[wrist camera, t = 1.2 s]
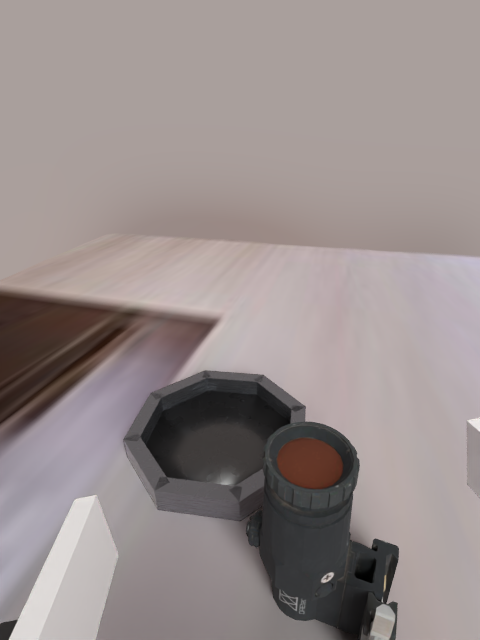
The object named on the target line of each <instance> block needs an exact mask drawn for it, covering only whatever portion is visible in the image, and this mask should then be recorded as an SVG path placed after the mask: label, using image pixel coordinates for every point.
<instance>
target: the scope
mask: <svg viewBox="0 0 480 640" xmlns="http://www.w3.org/2000/svg"><path fill="white" fill-rule="evenodd" d="M359 466H360V465H359V459H358V458H357V452H356V450H355V448H354V447H353V446H352V444H351V443H350V442H349V440H348V439H347V438H346V437H345V436H344V435H342V434H341V433H340V432H338V431H337V430H335V429H333V428H331V427H329V426H326V425H324V424H320V423H315V422H295V423H291V424H288V425H285V426H283V427H281V428H279V429H278V430H276V431H275V432H274V433H273V434H272V435H270V436H269V438H268V439H267V444H266V445H265V446H264V448H263V473H264V476H265V479H264V498H263V512H262V511H261V510H260V511H258V512H257V513H255V515H253V516H251V517H250V519H251V521H250V522H248V524H247V528H246V532H247V533H246V534H247V536H248V541H249V544H250V545H251V546H253V545H254V546H255V547H256V548H257V547H259V546H260V556H261V558H262V561H263V563H264V566H265V568H266V570H267V572H268V574H269V576H270V578H271V580H272V591H273V598H274V600H275V601H276V603H277V605H278V607H279V609H280V610H281V611H283V612H284V613H285V614H286V615H287V616H289V617H291V618H293V619H295V620H303V621H307V620H313V619H317V620H319V621H321V622H324V623H326V624H328V625H331V626H333V627H335V628H337V626H338V628H339V629H340V630H343V631H345V632H348V633H352V634H357V635H358V640H395V638H396V624H397V604H398V603H396V602H391V603H389V604H386V602H387V599H388V595H389V592H390V588H391V585H392V581H393V577H394V574H395V570H396V567H397V563H398V556H399V548H398V547H397V546H396V545H393V544H390V543H388V542H386V541H381V540H378V539H374V540H373V544H372V549H370V548H368V547H366V546H364V545H362V544H360V543H357V542H354V541H353V542H352V540H350V535H351V534H350V532H349V529H350V519H351V510H352V500H353V491H354V489H355V487H356V484H357V478H358V472H359ZM383 602H384V603H383Z"/></svg>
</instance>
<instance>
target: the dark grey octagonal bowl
mask: <svg viewBox="0 0 480 640" xmlns="http://www.w3.org/2000/svg"><path fill="white" fill-rule="evenodd" d="M305 409H306V407H305V406H304V405H303V404H301V403H300V402H299V401H297V400H296V399H295V398H293V397H292V396H291V395H289V394H288V393H287V392H285V391H284V390H283V389H281V388H280V387H279V386H277V385H276V384H275V383H273V382H272V381H271V380H269V379H268V378H267V377H265V376H264V375H258V374H245V373H232V372H218V371H203V372H200V373H198V374H196V375H193V376H191V377H188V378H186V379H184V380H181V381H179V382H176V383H174V384H172V385H169V386H167V387H164V388H162V389H160V390H157V391H155V392H152V393H151V394H150V395H149V397H148V399H147V400H146V402H145V404H144V406H143V407H142V409H141V411H140V412H139V414H138V416H137V418H136V419H135V421H134V423H133V424H132V426H131V428H130V430H129V431H128V433H127V435H126V436H125V438H124V445H125V449H126V453H127V457H128V459H129V461H130V462H131V464H132V466H133V468H134V469H135V471H136V473H137V474H138V476H139V478H140V480H141V481H142V483H143V485H144V486H145V488H146V490H147V492H148V493H149V495H150V497H151V498H152V500H153V502H154V504H155V505H156V507H157V509H158V510H164V511H172V512H179V513H186V514H193V515H201V516H208V517H215V518H222V519H230V520H237V521H241V520H242V519H244V518H245V517H246V516H248V515H249V514H251V513H252V512H254V511H255V510H257V509H258V508H260V507H261V506H263V498H264V479H265V476H264V473H263V448H264V446H265V445H266V444H267V439H268V438H269V436H270V435H272V434H273V433H274V432H275V431H276V430H278V429H279V428H281V427H283V426H285V425H288V424H291V423H295V422H305Z"/></svg>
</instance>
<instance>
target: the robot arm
mask: <svg viewBox="0 0 480 640" xmlns="http://www.w3.org/2000/svg"><path fill="white" fill-rule="evenodd" d="M467 485H468V486H469V487H470V488H471V489H472V490H473V491H474V492H475V494H476V495H477V496H478V497H479V498H480V418H477V419H472V420H467ZM118 556H119V554H118V551H117V548H116V546H115V543H114V540H113V538H112V535H111V532H110V530H109V527H108V524H107V522H106V519H105V516H104V514H103V511H102V508H101V505H100V503H99V500H98V497H97V495H93V496H88V497H83V498H78V499H75V500H74V502H73V504H72V506H71V508H70V510H69V513H68V515H67V517H66V519H65V521H64V523H63V525H62V527H61V530H60V532H59V534H58V536H57V538H56V540H55V542H54V545H53V547H52V549H51V551H50V553H49V555H48V557H47V559H46V562H45V564H44V566H43V568H42V570H41V572H40V574H39V576H38V579H37V581H36V583H35V585H34V587H33V589H32V591H31V593H30V596H29V598H28V600H27V602H26V604H25V606H24V608H23V610H22V613H21V615H20V617H19V619H18V620H14V621H9V622H4V623H1V624H0V640H96V637H97V633H98V629H99V626H100V622H101V618H102V615H103V611H104V607H105V603H106V600H107V596H108V592H109V589H110V585H111V581H112V578H113V574H114V570H115V567H116V563H117V559H118Z"/></svg>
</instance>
